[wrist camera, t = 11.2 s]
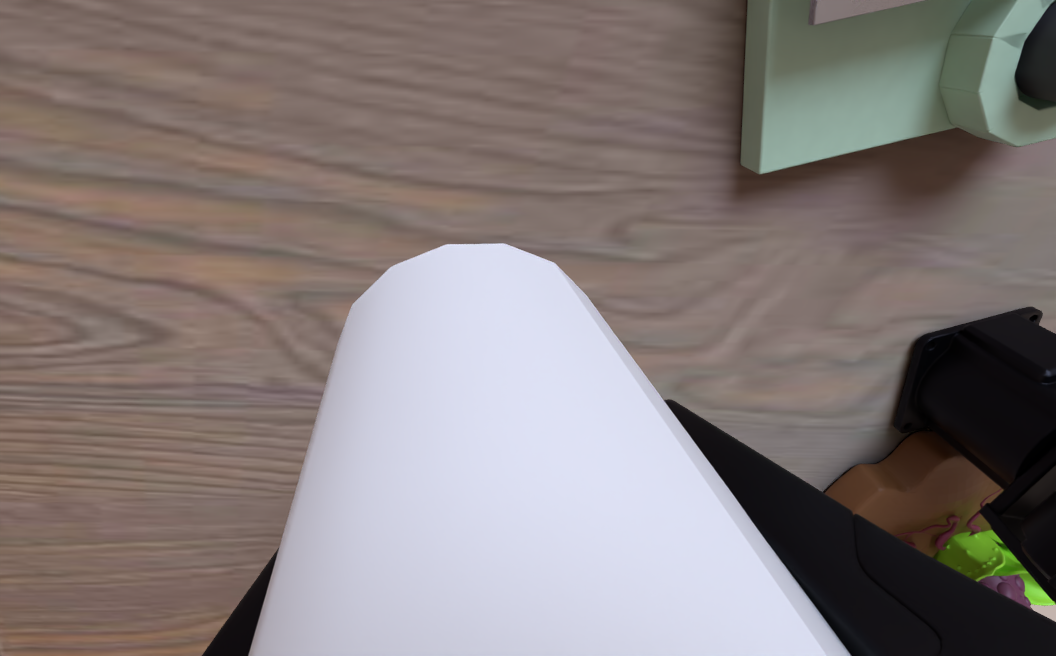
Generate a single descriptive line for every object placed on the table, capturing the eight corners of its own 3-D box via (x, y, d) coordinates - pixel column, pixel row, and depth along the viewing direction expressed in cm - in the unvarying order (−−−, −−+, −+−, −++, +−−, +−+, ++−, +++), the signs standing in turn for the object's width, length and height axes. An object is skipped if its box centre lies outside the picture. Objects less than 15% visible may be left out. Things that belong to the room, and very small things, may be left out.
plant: (998, 578, 43) (1160, 741, 34) (771, 634, 41) (879, 824, 32) (1130, 381, 33) (1422, 539, 23) (833, 441, 30) (1024, 643, 21)
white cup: (506, 506, 14) (648, 1215, 6) (254, 413, 11) (-157, 1551, 3) (677, 320, 12) (1259, 1005, 4) (423, 147, 9) (588, 1418, 1)
